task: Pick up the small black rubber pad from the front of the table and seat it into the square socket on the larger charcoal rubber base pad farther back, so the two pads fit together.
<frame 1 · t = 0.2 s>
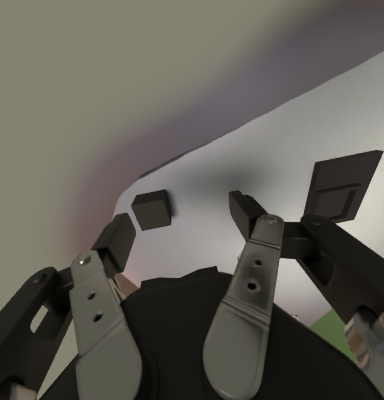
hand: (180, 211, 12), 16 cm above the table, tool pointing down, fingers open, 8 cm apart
base pad: (334, 192, 33), on the table
beige piece: (262, 253, 40), on the table
black pad: (154, 204, 30), on the table
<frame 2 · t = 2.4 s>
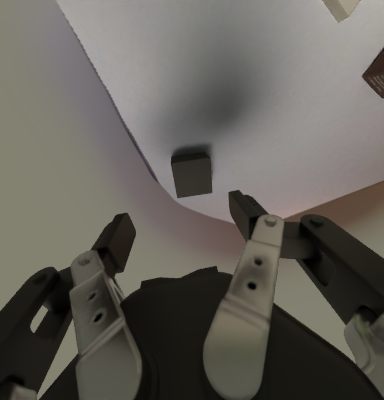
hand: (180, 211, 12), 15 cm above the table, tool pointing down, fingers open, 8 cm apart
black pad: (190, 170, 26), on the table
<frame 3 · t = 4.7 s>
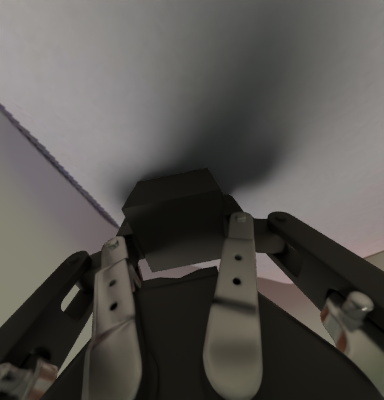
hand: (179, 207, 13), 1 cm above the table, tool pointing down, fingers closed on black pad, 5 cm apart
black pad: (180, 204, 13), on the table, touching gripper
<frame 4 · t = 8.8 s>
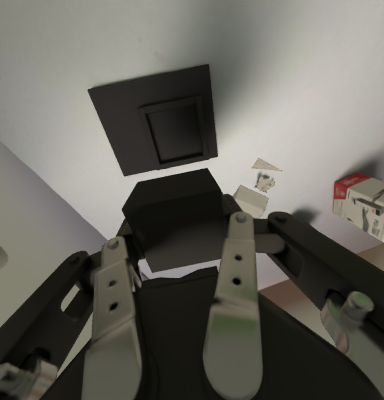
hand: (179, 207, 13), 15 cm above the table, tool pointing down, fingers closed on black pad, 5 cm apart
base pad: (161, 127, 23), on the table
ink box: (343, 193, 33), on the table
beige piece: (254, 192, 31), on the table
black pad: (180, 204, 13), point 15 cm above the table, touching gripper
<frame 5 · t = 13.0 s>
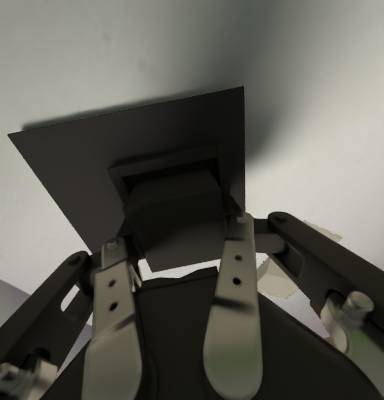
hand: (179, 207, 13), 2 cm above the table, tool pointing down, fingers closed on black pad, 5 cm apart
base pad: (154, 185, 14), on the table
beige piece: (290, 259, 21), on the table
black pad: (180, 204, 13), point 2 cm above the table, touching gripper
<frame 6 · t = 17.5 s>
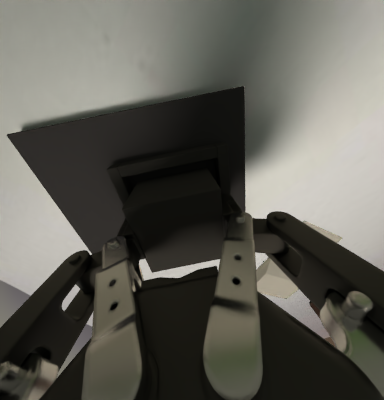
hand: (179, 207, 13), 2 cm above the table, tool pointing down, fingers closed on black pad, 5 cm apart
base pad: (154, 185, 14), on the table
beige piece: (290, 260, 21), on the table
black pad: (179, 204, 13), point 2 cm above the table, touching gripper
when the fingers open (3 cm above the table, at t = 21.4 s): black pad drops 2 cm, resting on base pad.
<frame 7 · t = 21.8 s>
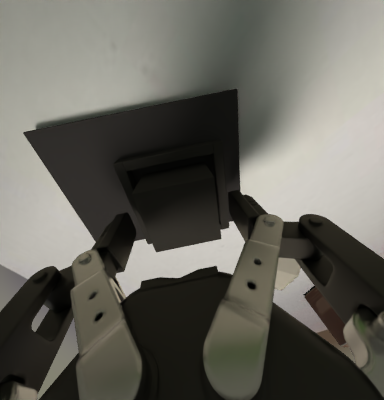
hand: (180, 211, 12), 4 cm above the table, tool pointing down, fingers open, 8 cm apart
base pad: (155, 180, 15), on the table
box: (324, 287, 28), on the table
beige piece: (284, 252, 22), on the table
black pad: (180, 195, 15), point 1 cm above the table, touching base pad
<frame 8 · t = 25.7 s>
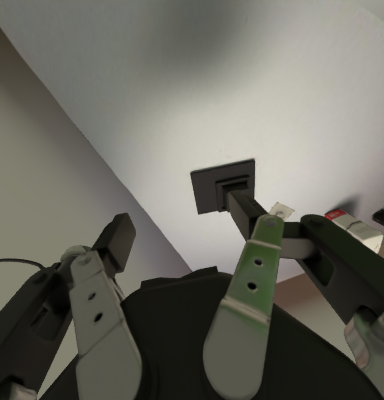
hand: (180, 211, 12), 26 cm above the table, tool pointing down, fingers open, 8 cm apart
base pad: (223, 188, 41), on the table
ink box: (330, 220, 50), on the table
beige piece: (272, 220, 48), on the table
black pad: (232, 193, 40), point 1 cm above the table, touching base pad
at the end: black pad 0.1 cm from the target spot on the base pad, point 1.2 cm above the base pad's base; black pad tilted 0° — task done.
